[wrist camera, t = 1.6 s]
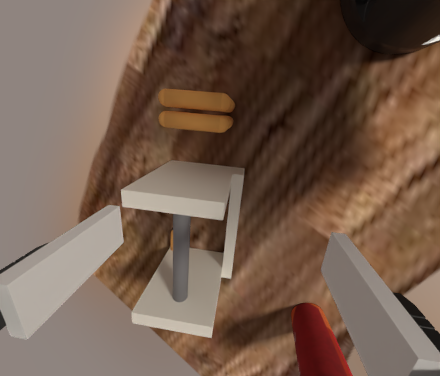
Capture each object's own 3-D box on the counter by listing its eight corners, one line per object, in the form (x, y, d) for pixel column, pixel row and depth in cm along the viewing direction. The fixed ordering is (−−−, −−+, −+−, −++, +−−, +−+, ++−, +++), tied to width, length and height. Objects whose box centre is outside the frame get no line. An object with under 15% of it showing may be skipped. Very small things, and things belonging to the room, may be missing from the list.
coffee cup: (276, 317, 41) (291, 423, 27) (301, 291, 38) (332, 393, 24) (312, 336, 41) (346, 450, 27) (340, 311, 38) (393, 424, 24)
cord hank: (180, 124, 31) (156, 127, 23) (181, 94, 29) (155, 86, 21) (232, 129, 30) (226, 134, 22) (235, 99, 29) (230, 92, 20)
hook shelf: (171, 160, 33) (120, 189, 20) (244, 168, 32) (242, 205, 19) (171, 253, 39) (132, 323, 26) (232, 262, 38) (224, 340, 25)
